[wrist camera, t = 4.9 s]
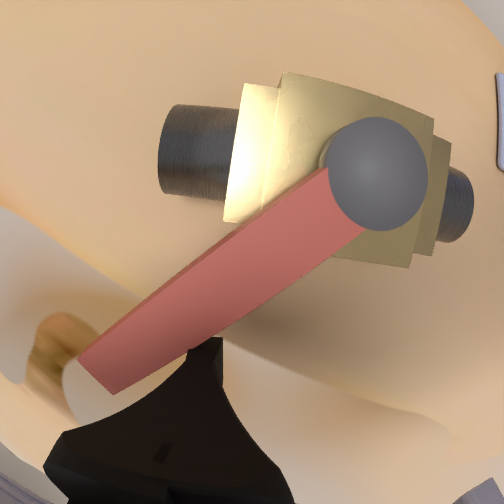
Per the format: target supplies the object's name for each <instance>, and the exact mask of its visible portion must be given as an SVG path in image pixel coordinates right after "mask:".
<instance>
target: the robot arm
mask: <svg viewBox="0 0 504 504" xmlns="http://www.w3.org/2000/svg"><path fill="white" fill-rule="evenodd" d="M496 79H497V90H498V106H499V145H498V166H499V168H500V169H501V170H503V171H504V75H503V74H502V73H501V72H500V73H497V74H496ZM222 385H223V338H222V337H211V338H209V339H207V340H206V341H204V342H203V343H201V344H200V345H198V346H196V347H195V348H193V349H188V352H187V356H186V361H185V362H184V363H183V364H182V365H181V366H180V367H179V368H178V369H177V370H176V371H175V372H174V373H173V374H172V375H171V376H170V377H168V378H167V379H166V380H165V381H164V382H163V383H162V384H161V385H160V386H158V387H157V388H156V389H154V390H153V391H152V392H150V393H149V394H148V395H146V396H145V397H143V398H142V399H140V400H139V401H137V402H135V403H134V404H132V405H131V406H129V407H127V408H125V409H123V410H122V411H120V412H117V413H116V414H113V415H111V416H109V417H107V418H104V419H102V420H100V421H97V422H94V423H91V424H88V425H85V426H82V427H79V428H75V429H72V430H68V431H64V432H63V433H62V434H61V436H60V437H59V439H58V440H57V441H56V443H55V445H54V447H53V449H52V450H51V452H50V454H49V456H48V458H47V460H46V461H45V463H44V465H43V468H44V471H45V473H46V475H47V476H48V478H49V479H50V480H51V481H52V482H53V483H54V484H55V485H56V486H57V487H58V488H59V489H60V490H61V492H63V493H64V494H65V495H66V496H67V497H68V498H69V501H68V503H67V504H295V503H294V499H293V496H292V493H291V491H290V488H289V486H288V484H287V482H286V480H285V478H284V476H283V474H282V472H281V470H280V468H279V467H278V466H277V465H276V464H275V463H274V462H273V461H272V460H271V459H270V458H269V457H268V456H267V455H266V454H265V453H264V452H263V451H262V450H261V449H260V447H259V446H258V445H257V444H256V442H255V441H254V440H253V439H252V438H251V436H250V435H249V433H248V432H247V431H246V429H245V428H244V426H243V425H242V423H241V422H240V420H239V419H238V417H237V415H236V414H235V412H234V410H233V408H232V406H231V405H230V403H229V401H228V399H227V396H226V394H225V392H224V389H223V387H222ZM0 504H53V503H51V502H49V501H47V500H46V499H44V498H42V497H40V496H38V495H37V494H35V493H33V492H31V491H30V490H28V489H27V488H25V487H23V486H22V485H20V484H19V483H17V482H16V481H14V480H13V479H11V478H10V477H8V476H7V475H5V474H4V473H3V472H1V471H0ZM453 504H504V497H503V495H502V494H501V492H500V490H499V488H498V486H497V484H496V483H495V481H494V479H493V478H489V479H488V480H486V481H484V482H483V483H481V484H480V485H478V486H476V487H474V488H473V489H471V490H470V491H468V492H466V493H465V494H464V495H462V496H461V497H460V498H458V499H457V500H456V501H455V502H454V503H453Z"/></svg>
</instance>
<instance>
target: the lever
mask: <svg viewBox="0 0 504 504" xmlns="http://www.w3.org/2000/svg"><path fill="white" fill-rule="evenodd" d="M427 186H428V169H427V163H426V159H425V156H424V153H423V151H422V149H421V147H420V145H419V143H418V142H417V140H416V139H415V138H414V136H413V135H412V134H411V133H410V132H409V131H408V130H407V129H406V128H404V127H403V126H402V125H400V124H399V123H397V122H395V121H393V120H390V119H387V118H383V117H368V118H363V119H360V120H357V121H355V122H353V123H351V124H349V125H346V126H344V127H343V128H341V129H339V130H338V131H336V132H335V133H334V134H333V135H332V136H331V137H330V138H329V139H328V141H327V142H326V144H325V146H324V148H323V150H322V153H321V156H320V160H319V168H318V169H317V170H315V171H314V172H313V173H311V174H310V175H308V176H307V177H306V178H304V179H303V180H301V181H300V182H299V183H297V184H296V185H295V186H293V187H292V188H290V189H289V190H288V191H286V192H285V193H283V194H282V195H281V196H279V197H278V198H277V199H275V200H274V201H273V202H271V203H270V204H268V205H267V206H266V207H264V208H263V209H262V210H260V211H259V212H258V213H256V214H255V215H254V216H252V217H251V218H250V219H248V220H247V221H245V222H244V223H243V224H241V225H240V226H239V227H237V228H236V229H235V230H233V231H232V232H231V233H230V234H228V235H227V236H226V237H224V238H223V239H222V240H220V241H219V242H218V243H216V244H215V245H214V246H212V247H211V248H210V249H208V250H207V251H206V252H205V253H203V254H202V255H201V256H199V257H198V258H197V259H195V260H194V261H193V262H192V263H190V264H189V265H188V266H186V267H185V268H184V269H183V270H181V271H180V272H179V273H177V274H176V275H175V276H174V277H172V278H171V279H170V280H169V281H167V282H166V283H165V284H163V285H162V286H161V287H160V288H158V289H157V290H156V291H155V292H153V293H152V294H151V295H150V296H148V297H147V298H146V299H145V300H143V301H142V302H141V303H140V304H139V305H137V306H136V307H135V308H133V309H132V310H131V311H130V312H128V313H127V314H126V315H125V316H124V317H123V318H121V319H120V320H119V321H118V322H116V323H115V324H114V325H113V326H111V327H110V328H109V329H108V330H106V331H105V332H104V333H103V334H102V335H100V336H99V337H98V338H97V339H96V340H94V341H93V342H92V343H91V344H90V345H88V346H87V348H86V349H85V350H84V351H83V352H82V354H81V355H80V356H79V357H78V359H77V360H78V362H79V363H80V364H81V365H82V366H83V367H84V368H85V369H86V370H87V371H88V372H89V373H90V374H91V375H92V376H93V377H94V378H95V379H96V380H97V381H98V382H99V383H100V384H101V385H103V386H104V387H105V388H106V389H107V390H108V391H109V392H110V393H111V394H112V395H115V394H117V393H118V392H120V391H122V390H124V389H126V388H127V387H129V386H131V385H132V384H134V383H136V382H138V381H140V380H141V379H143V378H145V377H146V376H148V375H150V374H151V373H153V372H155V371H157V370H158V369H160V368H162V367H163V366H165V365H167V364H168V363H170V362H172V361H173V360H175V359H176V358H178V357H180V356H182V355H183V354H185V353H187V352H188V349H193V348H195V347H196V346H198V345H200V344H201V343H203V342H204V341H206V340H207V339H209V338H211V337H212V336H214V335H215V334H217V333H219V332H220V331H222V330H223V329H225V328H226V327H228V326H229V325H231V324H232V323H234V322H236V321H237V320H239V319H240V318H242V317H243V316H245V315H246V314H248V313H249V312H251V311H252V310H254V309H255V308H257V307H258V306H260V305H261V304H263V303H264V302H266V301H267V300H269V299H270V298H272V297H273V296H274V295H276V294H277V293H279V292H280V291H282V290H283V289H285V288H286V287H288V286H289V285H290V284H292V283H293V282H295V281H296V280H298V279H299V278H300V277H302V276H303V275H305V274H306V273H307V272H309V271H310V270H312V269H313V268H314V267H316V266H317V265H319V264H320V263H321V262H323V261H324V260H326V259H327V258H328V257H330V256H331V255H332V254H334V253H335V252H337V251H338V250H339V249H341V248H342V247H343V246H345V245H346V244H347V243H349V242H350V241H351V240H353V239H354V238H355V237H357V236H358V235H359V234H361V233H362V232H363V231H365V230H366V229H370V230H374V231H388V230H393V229H396V228H398V227H400V226H402V225H404V224H405V223H407V222H408V221H409V220H410V219H411V218H413V217H414V215H415V214H416V213H417V212H418V210H419V208H420V207H421V205H422V203H423V201H424V198H425V195H426V191H427Z"/></svg>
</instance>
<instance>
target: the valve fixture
mask: <svg viewBox="0 0 504 504" xmlns="http://www.w3.org/2000/svg"><path fill="white" fill-rule="evenodd" d="M368 117H383V118H387V119H390V120H393V121H395V122H397V123H399V124H400V125H402V126H403V127H404V128H406V129H407V130H408V131H409V132H410V133H411V134H412V135H413V136H414V138H415V139H416V140H417V142H418V143H419V145H420V147H421V149H422V151H423V153H424V156H425V159H426V163H427V169H428V186H427V191H426V195H425V198H424V201H423V203H422V205H421V207H420V208H419V210H418V212H417V213H416V214H415V215H414V217H413V218H411V219H410V220H409V221H408V222H407V223H405V224H404V225H402V226H400V227H398V228H396V229H393V230H388V231H374V230H370V229H366V230H365V231H363V232H362V233H361V234H359V235H358V236H357V237H355V238H354V239H353V240H351V241H350V242H349V243H347V244H346V245H345V246H343V247H342V248H341V249H339V250H338V251H337V252H335V253H334V254H332V255H331V256H332V257H339V258H345V259H352V260H358V261H365V262H371V263H378V264H384V265H391V266H397V267H403V268H409V264H410V261H411V257H412V253H417V254H422V255H427V256H432V253H433V249H434V245H435V241H440V242H444V243H450V242H453V241H455V240H457V239H458V238H459V237H461V235H462V234H463V233H464V232H465V231H466V229H467V227H468V225H469V223H470V221H471V218H472V214H473V208H474V194H473V189H472V185H471V183H470V181H469V179H468V177H467V176H466V175H465V174H464V173H463V172H461V171H459V170H457V169H455V168H453V167H450V166H449V163H450V153H451V143H450V142H448V141H446V140H444V139H442V138H439V137H437V136H435V135H433V127H434V119H433V118H431V117H429V116H426V115H424V114H422V113H420V112H417V111H415V110H413V109H410V108H408V107H405V106H403V105H400V104H398V103H395V102H393V101H390V100H387V99H384V98H382V97H379V96H376V95H373V94H370V93H367V92H364V91H361V90H358V89H354V88H351V87H348V86H344V85H340V84H337V83H333V82H329V81H325V80H321V79H317V78H313V77H308V76H304V75H299V74H294V73H289V72H284V71H283V73H282V76H281V79H280V82H279V85H278V88H275V87H268V86H262V85H255V84H248V83H244V88H243V94H242V99H241V105H240V110H238V109H230V108H220V107H210V106H197V105H181V104H177V105H175V106H173V108H172V109H171V110H170V112H169V114H168V115H167V118H166V120H165V123H164V126H163V129H162V133H161V138H160V143H159V150H158V178H159V183H160V187H161V189H162V191H163V192H164V193H165V194H173V195H181V196H189V197H198V198H205V199H213V200H220V201H225V208H224V215H223V221H224V222H231V223H238V224H243V223H244V222H245V221H247V220H248V219H250V218H251V217H252V216H254V215H255V214H256V213H258V212H259V211H260V210H262V209H263V208H264V207H266V206H267V205H268V204H270V203H271V202H273V201H274V200H275V199H277V198H278V197H279V196H281V195H282V194H283V193H285V192H286V191H288V190H289V189H290V188H292V187H293V186H295V185H296V184H297V183H299V182H300V181H301V180H303V179H304V178H306V177H307V176H308V175H310V174H311V173H313V172H314V171H315V170H317V169H318V168H319V160H320V156H321V153H322V150H323V148H324V146H325V144H326V142H327V141H328V139H329V138H330V137H331V136H332V135H333V134H334V133H335V132H336V131H338V130H339V129H341V128H343V127H344V126H346V125H349V124H351V123H353V122H355V121H357V120H360V119H363V118H368Z"/></svg>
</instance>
